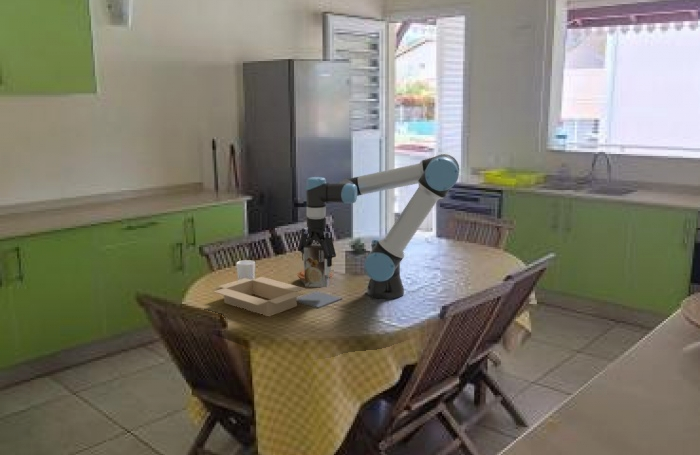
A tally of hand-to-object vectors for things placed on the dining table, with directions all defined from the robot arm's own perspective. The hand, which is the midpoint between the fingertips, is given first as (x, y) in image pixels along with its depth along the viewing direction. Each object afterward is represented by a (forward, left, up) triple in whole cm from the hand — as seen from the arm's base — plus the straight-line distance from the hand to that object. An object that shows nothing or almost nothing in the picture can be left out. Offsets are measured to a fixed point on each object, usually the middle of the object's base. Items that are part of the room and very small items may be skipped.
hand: (316, 271), depth 250 cm
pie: (+18, -18, -12) cm, 28 cm away
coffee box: (0, 0, -6) cm, 6 cm away
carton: (+14, +18, -12) cm, 26 cm away
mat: (0, 0, -12) cm, 12 cm away
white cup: (+38, +4, -12) cm, 40 cm away
